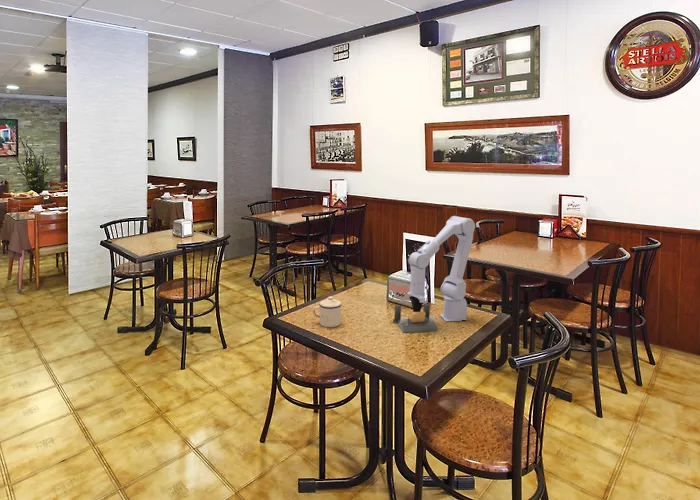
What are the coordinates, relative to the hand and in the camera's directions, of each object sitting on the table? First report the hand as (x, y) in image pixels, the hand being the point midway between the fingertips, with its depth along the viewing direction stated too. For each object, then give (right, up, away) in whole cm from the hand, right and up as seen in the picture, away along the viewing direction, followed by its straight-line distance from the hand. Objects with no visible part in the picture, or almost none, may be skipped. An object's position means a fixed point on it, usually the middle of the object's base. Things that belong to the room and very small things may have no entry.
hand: (416, 313), depth 183 cm
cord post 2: (+5, -4, +8) cm, 10 cm away
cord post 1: (-7, -4, +6) cm, 10 cm away
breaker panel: (0, -6, -1) cm, 6 cm away
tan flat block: (0, -3, -2) cm, 3 cm away
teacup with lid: (-37, -5, +4) cm, 37 cm away
